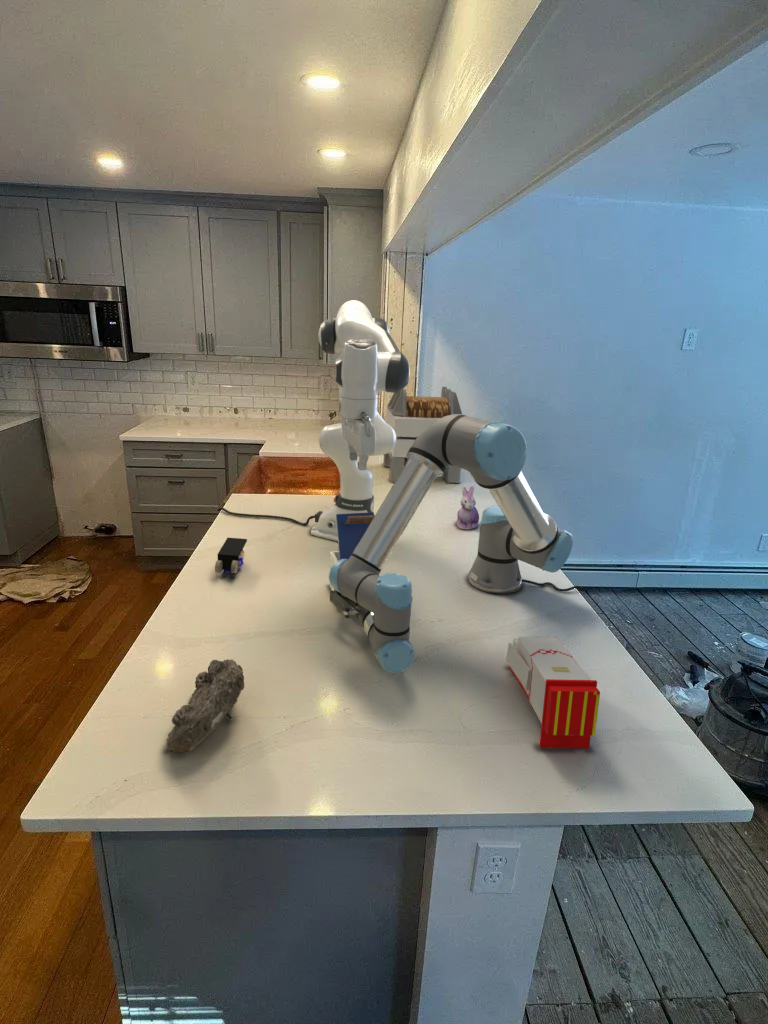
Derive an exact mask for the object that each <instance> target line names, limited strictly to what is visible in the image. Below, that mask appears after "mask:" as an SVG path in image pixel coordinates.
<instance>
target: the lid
mask: <svg viewBox="0 0 768 1024" xmlns="http://www.w3.org/2000/svg"><path fill="white" fill-rule="evenodd" d="M375 515H376V514H375V512H374V511H373V512H368V513H350V514H336V521H337V533H338V541H337V545H338V551H339V558H340V560H341V559H349V558H350V556H351V555H352V553H353V551H354V550H355V548H356V546H357V545H358V543H359V541H360V540H361V538H362V536H363V535H364V533H365V531H366V530H367V528H368V526H369V525H370V523H371V521H372V520H373V518H374V516H375Z"/></svg>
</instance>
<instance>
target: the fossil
mask: <svg viewBox="0 0 768 1024" xmlns="http://www.w3.org/2000/svg"><path fill="white" fill-rule="evenodd" d="M243 670H244V669H243V667H242V665H240V664H237V662H236V661H235V660H234V659H232V658H231V659H227V658H226V659H224V660H223V661H222V660H217V659H212V660H211V661H210V663H209V665H208V666H207V671H201V672H199V673H198V674H197V675H196V676H195V680H194V684H195V685H194V687H195V689H194V690H193V693H192V694H191V697H190V698H189V700H188V704H184V705H182V706H181V707H180V709H177V710H176V711H175V713H174V715H173V716H172V718H171V723H172V724H173V727H172V730H171V731H170V732H168V734H167V738H166V741H167V742H166V745H167V749H168V750H169V751H173V752H174V753H176V754H178V753H182V752H188V751H189V752H192V751H193V750H195V748H196V747H197V746H199V744H200V743H201V742H203V741H204V740H205V739H206V738H207V737H208V736H209V735H210V734H211V733H212V732H214V730H215V729H217V727H218V726H219V724H220V722H221V721H222V720H223V719H224V718H225V716H226V717H227V719H229V720H233V717H232V715H230V714H229V710H230V709H231V708H234V706H235V704H236V703H237V702H238V699H239V697H240V695H241V693H242V691H243V690H245V689H244V688H245V675H244V671H243Z"/></svg>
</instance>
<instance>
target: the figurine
mask: <svg viewBox="0 0 768 1024" xmlns="http://www.w3.org/2000/svg"><path fill="white" fill-rule="evenodd" d="M474 490H475V486H474V485H471V487H469V490H467V488H466V487H465V486H462V487H461V491H462V497H461V500H460V505H461V508H460V509H458V510H457V515H456V516H457V519H456V526H458V528H459V529H461V530H473V529H475V528H477V527H478V525H479V521H480V514H479V511H478V509H477V507H476V504H477V502H476V499H475V496H474V492H475V491H474Z"/></svg>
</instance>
